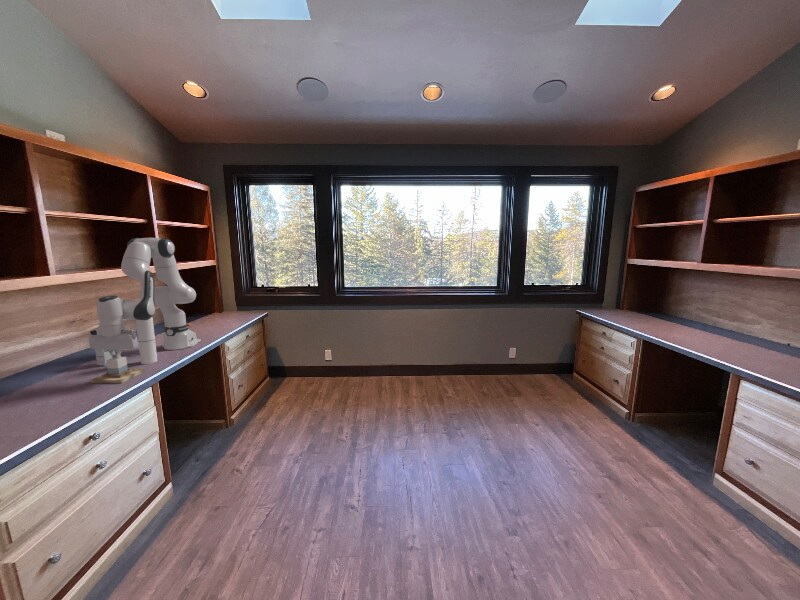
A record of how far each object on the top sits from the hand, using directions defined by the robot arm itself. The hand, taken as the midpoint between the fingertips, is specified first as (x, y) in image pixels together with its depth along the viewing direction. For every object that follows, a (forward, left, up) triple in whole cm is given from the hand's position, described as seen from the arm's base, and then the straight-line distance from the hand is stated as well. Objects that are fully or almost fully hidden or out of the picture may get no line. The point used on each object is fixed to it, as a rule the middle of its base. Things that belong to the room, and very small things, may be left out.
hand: (116, 357), depth 150 cm
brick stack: (0, 0, -8) cm, 8 cm away
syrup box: (-18, -21, -10) cm, 29 cm away
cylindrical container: (-21, -1, -10) cm, 23 cm away
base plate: (0, 0, -10) cm, 10 cm away
